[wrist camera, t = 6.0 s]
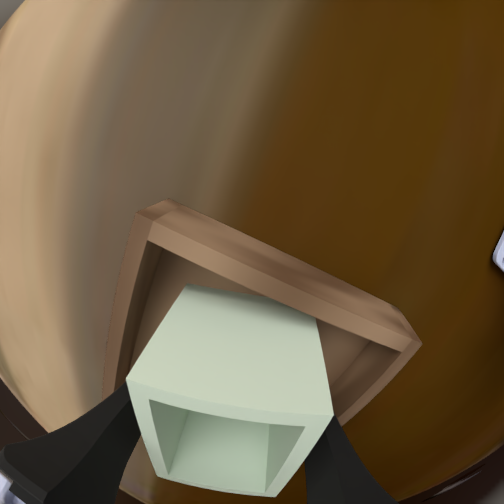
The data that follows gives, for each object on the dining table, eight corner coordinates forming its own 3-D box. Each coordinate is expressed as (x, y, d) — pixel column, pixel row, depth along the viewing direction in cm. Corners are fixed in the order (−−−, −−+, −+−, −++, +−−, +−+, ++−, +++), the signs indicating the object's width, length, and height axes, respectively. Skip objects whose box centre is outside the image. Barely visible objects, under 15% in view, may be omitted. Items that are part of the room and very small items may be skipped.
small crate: (312, 303, 11) (333, 414, 6) (278, 408, 14) (275, 496, 8) (187, 283, 12) (125, 378, 6) (186, 393, 14) (157, 476, 9)
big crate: (398, 308, 12) (422, 343, 9) (283, 434, 16) (283, 468, 13) (168, 198, 11) (135, 212, 8) (121, 371, 15) (101, 402, 12)
